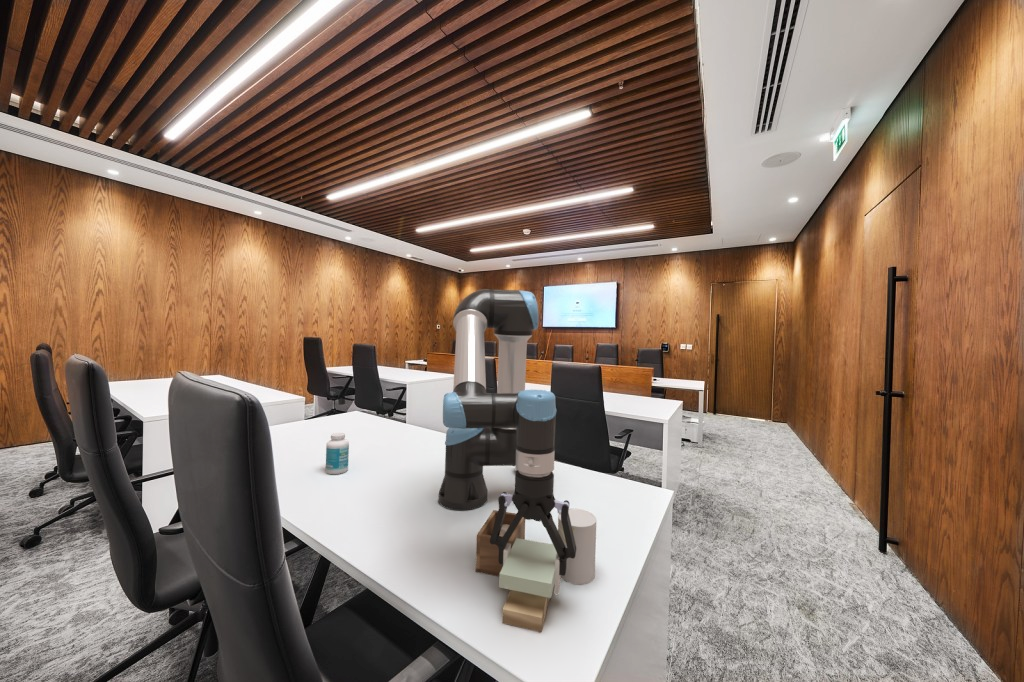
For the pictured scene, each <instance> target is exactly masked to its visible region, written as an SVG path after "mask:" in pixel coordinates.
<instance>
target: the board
mask: <svg viewBox="0 0 1024 682" xmlns="http://www.w3.org/2000/svg"><path fill="white" fill-rule="evenodd" d="M549 601H550V598H548V597H543V596H539V595H534V594H529V593H524V592H519V591H514V590H510V589H509V593H508V595H507V598H506V601H505V603H504V605H503V608H502V616H501V617H502V622H501V623H502V624H504V625H509V626H514V627H517V628H521V629H522V628H523V629H525V630H530V631H533V632H538V633H542V631H543V626H544V622H545V620H546V619H545V618H546V614H547V609H548V606H549Z"/></svg>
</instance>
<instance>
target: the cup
mask: <svg viewBox="0 0 1024 682" xmlns="http://www.w3.org/2000/svg"><path fill="white" fill-rule="evenodd" d="M568 513H569V517H570V522H571V526H572V530H573V535H574V539H575V544H576V556H575V558H573V559H572V558H567V564H566V574H565V576H562V575H561V577H560V579H562V580H563V581H565V582H567V583H569V584H573V585H580V586H581V585H587V584H589V583H591V582H592V581H593V580H594V579H595V576H596V574H595V573H596V547H597V545H596V542H597V517H596V516H595V515H594V514H593V513H592V512H590V511H588V510H586V509H580V508H569V512H568ZM557 515H558V516H557V520H558V521H557V523H558V524H557V530H558V532H559V534H560V536H561V538H562V540H563V542H564V544H565V547H566V548H567V544H566V540H565V535H564V531H563V527H562V522H561V515H560V514H559V513H558V514H557Z"/></svg>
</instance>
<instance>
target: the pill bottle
mask: <svg viewBox="0 0 1024 682" xmlns="http://www.w3.org/2000/svg"><path fill="white" fill-rule="evenodd" d="M325 447H326V448H325V452H326V453H325V472H326V474H328V475H341V474H344V473H345V472H347V471H348V470H349V453H350V451H349V450H350V449H349V448H350V441H348V440H347V439H346V434H345V433H343V432H335V433H331V434H330V440H328V441H327V443H326V446H325ZM340 473H341V474H340Z"/></svg>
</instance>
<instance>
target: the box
mask: <svg viewBox="0 0 1024 682" xmlns="http://www.w3.org/2000/svg"><path fill="white" fill-rule="evenodd" d="M497 513H498V510H496V509H493V510H492V512H491V513H490V515H489V516H488V518H487V519H486V520H485V522H484V523H483V524H482V526H481V528H480V529H479V531H478V532H477V533H476V542H475V543H476V545H475V550H476V551H475V573H480V574H485V575H487V576H488V575H490V576H494V577H498V578H499V574H500V572H501V570H502V567H503V564H499V561H498V559H499V548H498V546H497V545H495V544H491V543H490V537H491V534H492V531H493V527H494V524H495V520H496V517H497ZM516 514H517V512H509V511H506V513H505V517H504V520H503V524H502V527H501V531H500V534H499V536H501V537H503V536H504V534H505V532H506V531H507V529H508V527H509V526H510V524H511V522H512V521H513V519H514V517H515V516H516ZM525 536H526V519H524V517H522V519H521V521H520V522H519V524H518V525H517V527H516V529H515V530H514V532H513V534H512V535H511V537H510V539H509V540H508V542H507V543H509V544H511V548H512V546H513V544H514V542H515V540H516V538H519V539H524V540H526V539H525Z"/></svg>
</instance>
